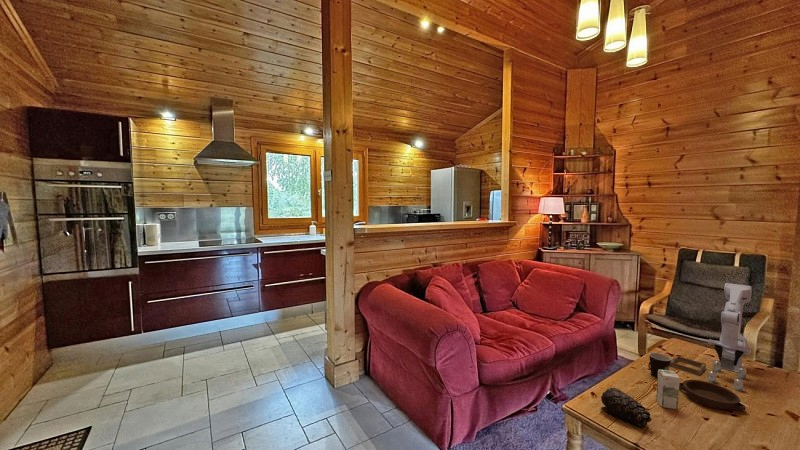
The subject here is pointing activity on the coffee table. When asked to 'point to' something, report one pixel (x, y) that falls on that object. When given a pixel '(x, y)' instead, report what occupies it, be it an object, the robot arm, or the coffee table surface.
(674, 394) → the syrup box
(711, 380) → the cylinder
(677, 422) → the coffee table surface
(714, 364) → the cylinder
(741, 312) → the robot arm
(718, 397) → the dish
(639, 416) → the pine cone
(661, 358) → the coffee mug
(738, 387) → the cylinder
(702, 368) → the square frame
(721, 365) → the grey cube
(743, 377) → the cylinder
